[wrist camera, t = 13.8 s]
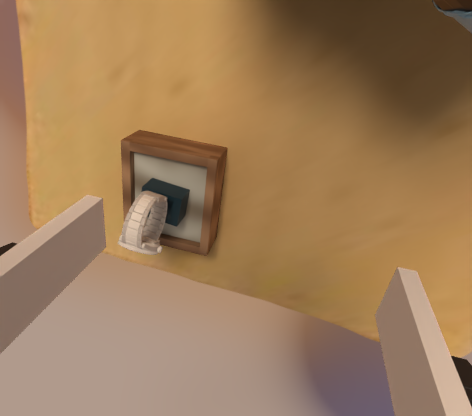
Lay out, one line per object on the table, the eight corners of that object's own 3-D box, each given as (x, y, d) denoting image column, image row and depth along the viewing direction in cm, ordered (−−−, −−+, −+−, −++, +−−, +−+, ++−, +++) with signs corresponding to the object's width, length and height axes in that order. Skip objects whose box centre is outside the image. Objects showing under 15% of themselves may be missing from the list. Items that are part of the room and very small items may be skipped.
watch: (147, 215, 50) (106, 259, 40) (153, 166, 46) (110, 201, 36) (183, 227, 49) (150, 274, 40) (192, 178, 45) (158, 218, 36)
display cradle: (139, 130, 48) (120, 140, 44) (227, 147, 47) (217, 160, 42) (140, 219, 55) (124, 235, 51) (216, 237, 54) (206, 255, 49)
